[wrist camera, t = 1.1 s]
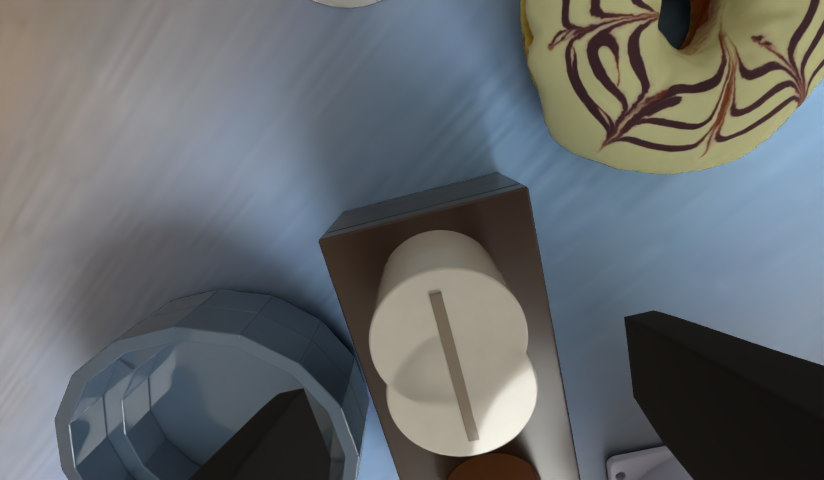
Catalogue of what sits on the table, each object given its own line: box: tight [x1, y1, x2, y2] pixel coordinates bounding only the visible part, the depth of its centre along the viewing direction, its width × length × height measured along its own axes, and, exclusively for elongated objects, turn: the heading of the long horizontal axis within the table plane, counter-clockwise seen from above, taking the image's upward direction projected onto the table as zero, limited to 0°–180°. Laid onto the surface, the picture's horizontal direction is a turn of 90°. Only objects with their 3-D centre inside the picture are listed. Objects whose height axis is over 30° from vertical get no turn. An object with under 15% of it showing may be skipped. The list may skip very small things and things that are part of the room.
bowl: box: [55, 289, 369, 480], centre depth 18 cm, size 12×12×4 cm
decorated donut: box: [520, 0, 824, 174], centre depth 13 cm, size 10×11×4 cm
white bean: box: [369, 230, 539, 457], centre depth 12 cm, size 6×4×4 cm
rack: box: [319, 172, 580, 480], centre depth 17 cm, size 16×7×4 cm, turn 15°
